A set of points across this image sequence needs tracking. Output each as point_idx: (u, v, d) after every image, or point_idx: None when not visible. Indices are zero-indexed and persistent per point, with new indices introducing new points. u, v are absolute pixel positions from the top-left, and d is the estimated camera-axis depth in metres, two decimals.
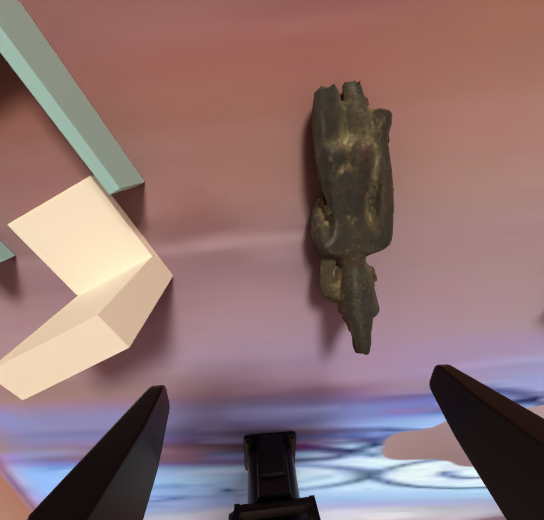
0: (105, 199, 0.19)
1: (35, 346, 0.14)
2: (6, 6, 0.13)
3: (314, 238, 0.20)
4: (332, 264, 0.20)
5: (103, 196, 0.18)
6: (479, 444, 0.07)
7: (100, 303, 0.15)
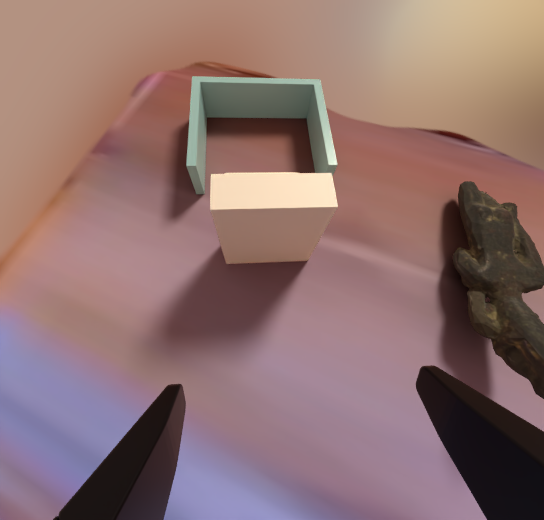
0: None
1: None
2: None
3: (462, 268, 0.22)
4: (482, 296, 0.20)
5: None
6: (462, 446, 0.07)
7: None
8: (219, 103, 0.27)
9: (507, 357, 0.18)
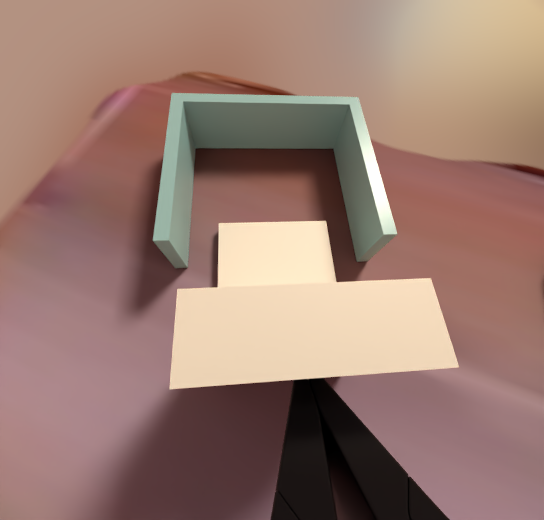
0: (327, 243, 0.17)
1: (296, 285, 0.07)
2: None
3: None
4: None
5: (326, 240, 0.17)
6: None
7: None
8: (212, 130, 0.19)
9: None
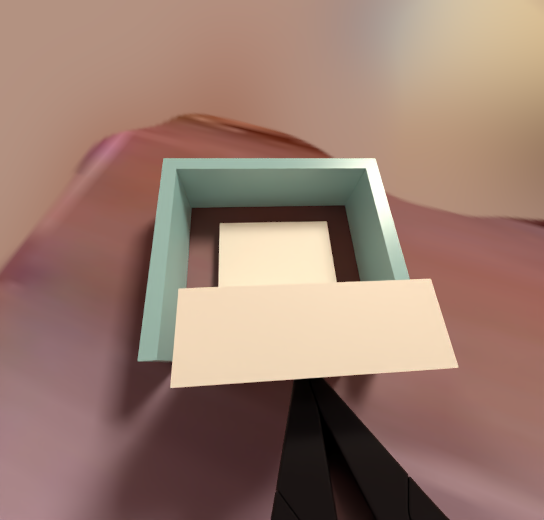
0: (327, 243, 0.17)
1: (296, 285, 0.07)
2: None
3: None
4: None
5: (327, 240, 0.17)
6: None
7: None
8: (210, 192, 0.17)
9: None
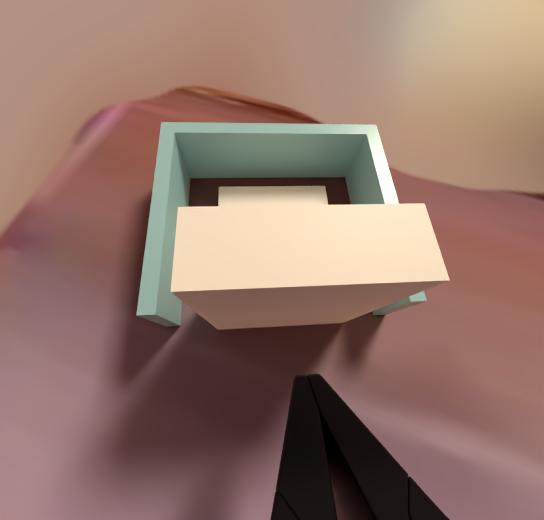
0: None
1: (293, 207, 0.08)
2: None
3: None
4: None
5: (325, 204, 0.17)
6: None
7: None
8: (209, 160, 0.17)
9: None
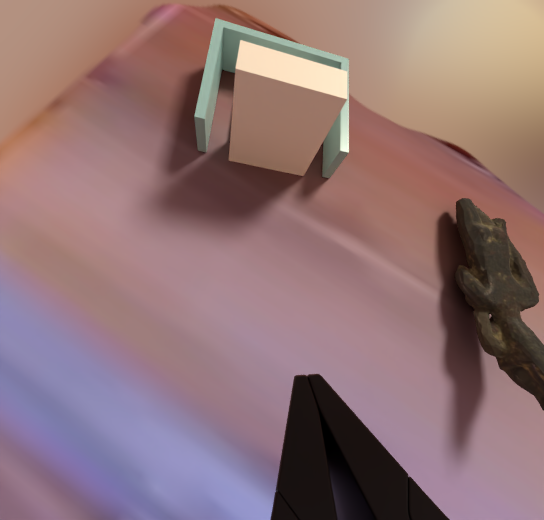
0: None
1: None
2: None
3: (469, 290, 0.23)
4: (487, 316, 0.22)
5: None
6: None
7: None
8: None
9: (515, 376, 0.20)
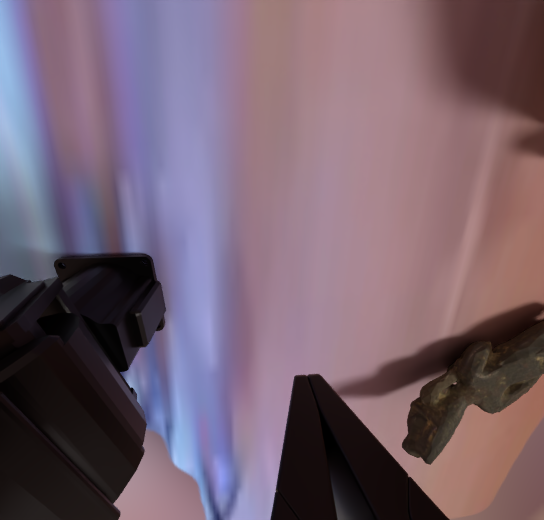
0: None
1: None
2: None
3: (472, 360, 0.23)
4: (453, 382, 0.23)
5: None
6: None
7: None
8: None
9: (414, 416, 0.23)
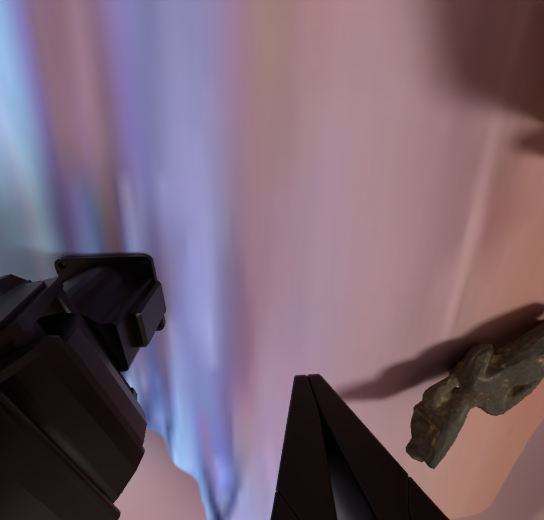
0: None
1: None
2: None
3: (473, 363, 0.23)
4: (455, 385, 0.23)
5: None
6: None
7: None
8: None
9: (417, 421, 0.23)
